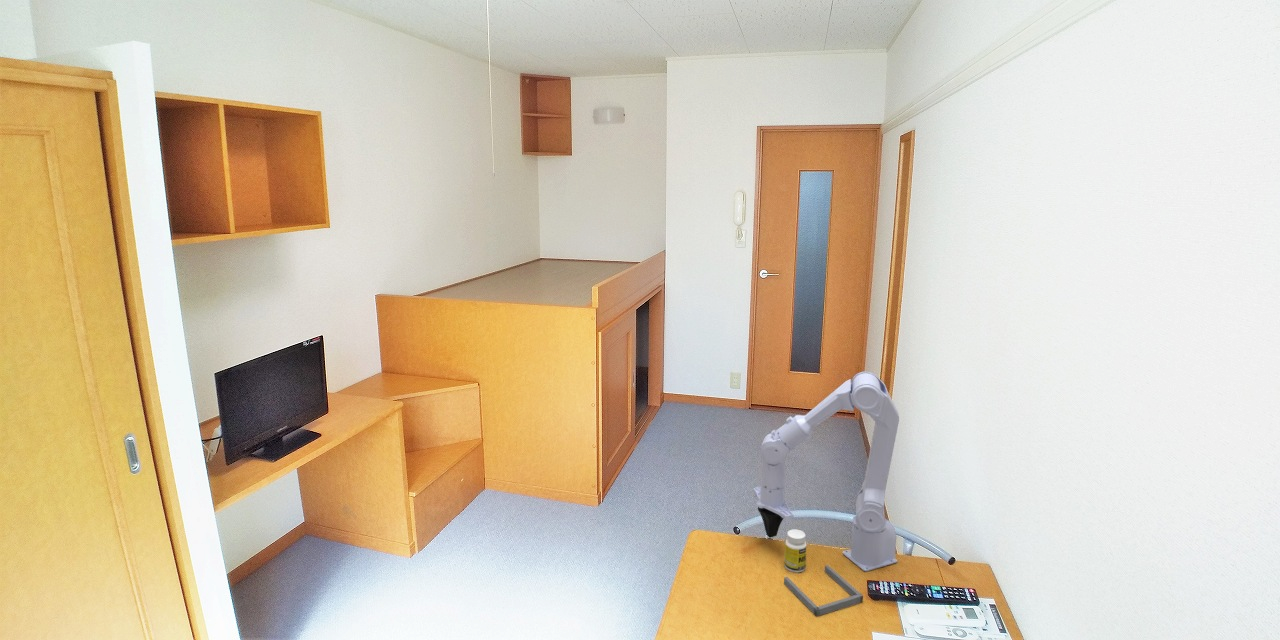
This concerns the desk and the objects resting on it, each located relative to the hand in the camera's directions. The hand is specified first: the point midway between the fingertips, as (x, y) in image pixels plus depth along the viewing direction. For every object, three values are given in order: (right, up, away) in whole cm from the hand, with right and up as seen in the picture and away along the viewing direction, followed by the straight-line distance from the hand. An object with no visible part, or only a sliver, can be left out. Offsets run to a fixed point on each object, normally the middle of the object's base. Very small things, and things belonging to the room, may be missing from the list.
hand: (771, 535), depth 153 cm
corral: (+7, -6, -18) cm, 20 cm away
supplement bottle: (+4, -5, -8) cm, 10 cm away
